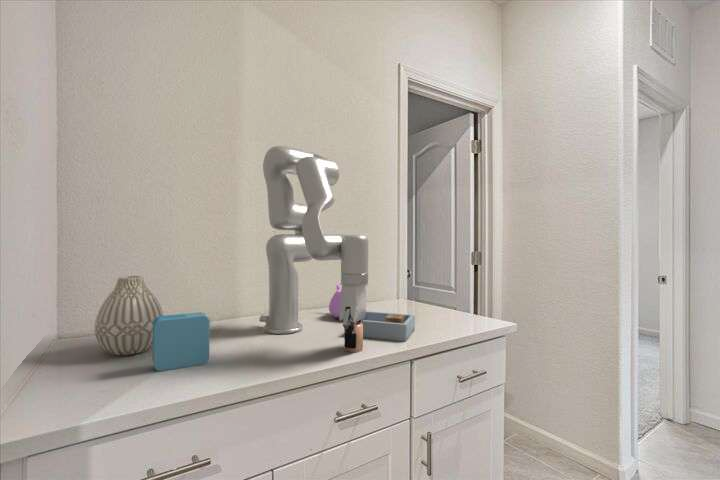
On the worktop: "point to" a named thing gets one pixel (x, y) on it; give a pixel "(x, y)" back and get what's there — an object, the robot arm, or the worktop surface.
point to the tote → (387, 326)
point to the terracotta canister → (357, 338)
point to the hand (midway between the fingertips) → (353, 344)
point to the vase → (127, 317)
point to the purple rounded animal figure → (335, 302)
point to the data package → (180, 341)
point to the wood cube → (395, 318)
